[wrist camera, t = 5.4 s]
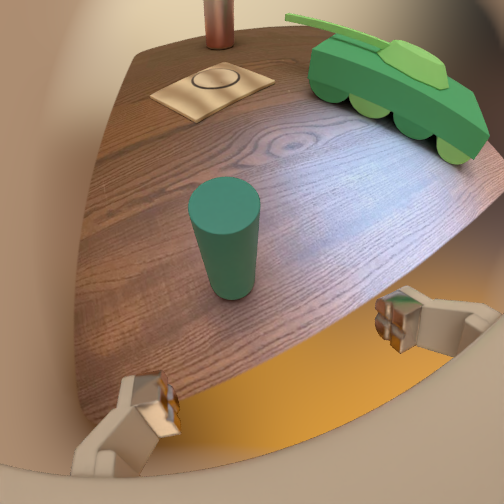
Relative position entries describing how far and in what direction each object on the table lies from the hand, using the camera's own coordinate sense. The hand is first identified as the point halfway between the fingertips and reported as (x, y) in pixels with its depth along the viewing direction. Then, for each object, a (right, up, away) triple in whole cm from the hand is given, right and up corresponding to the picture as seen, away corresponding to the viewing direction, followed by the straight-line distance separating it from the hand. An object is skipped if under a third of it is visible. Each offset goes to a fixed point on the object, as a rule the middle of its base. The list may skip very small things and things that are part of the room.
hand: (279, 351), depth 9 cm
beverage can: (-8, +48, +38) cm, 62 cm away
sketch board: (-7, +29, +29) cm, 41 cm away
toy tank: (+20, +30, +30) cm, 46 cm away
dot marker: (-3, +1, +14) cm, 14 cm away
